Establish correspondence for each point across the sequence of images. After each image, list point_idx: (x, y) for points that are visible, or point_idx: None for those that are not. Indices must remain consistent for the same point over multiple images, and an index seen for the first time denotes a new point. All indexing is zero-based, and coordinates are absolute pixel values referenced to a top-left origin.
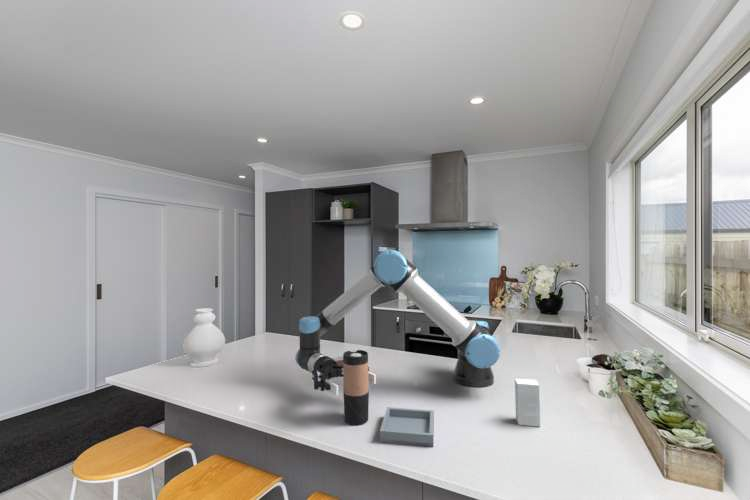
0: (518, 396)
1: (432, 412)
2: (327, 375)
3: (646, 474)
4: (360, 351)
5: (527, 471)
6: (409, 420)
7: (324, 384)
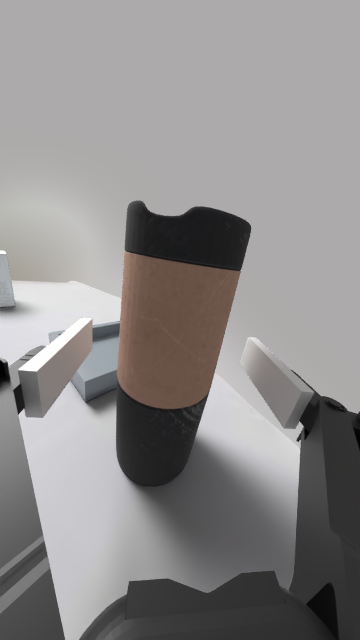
0: (9, 271)
1: (59, 332)
2: (320, 491)
3: (68, 284)
4: (136, 210)
5: (107, 302)
6: (85, 360)
7: (305, 383)
